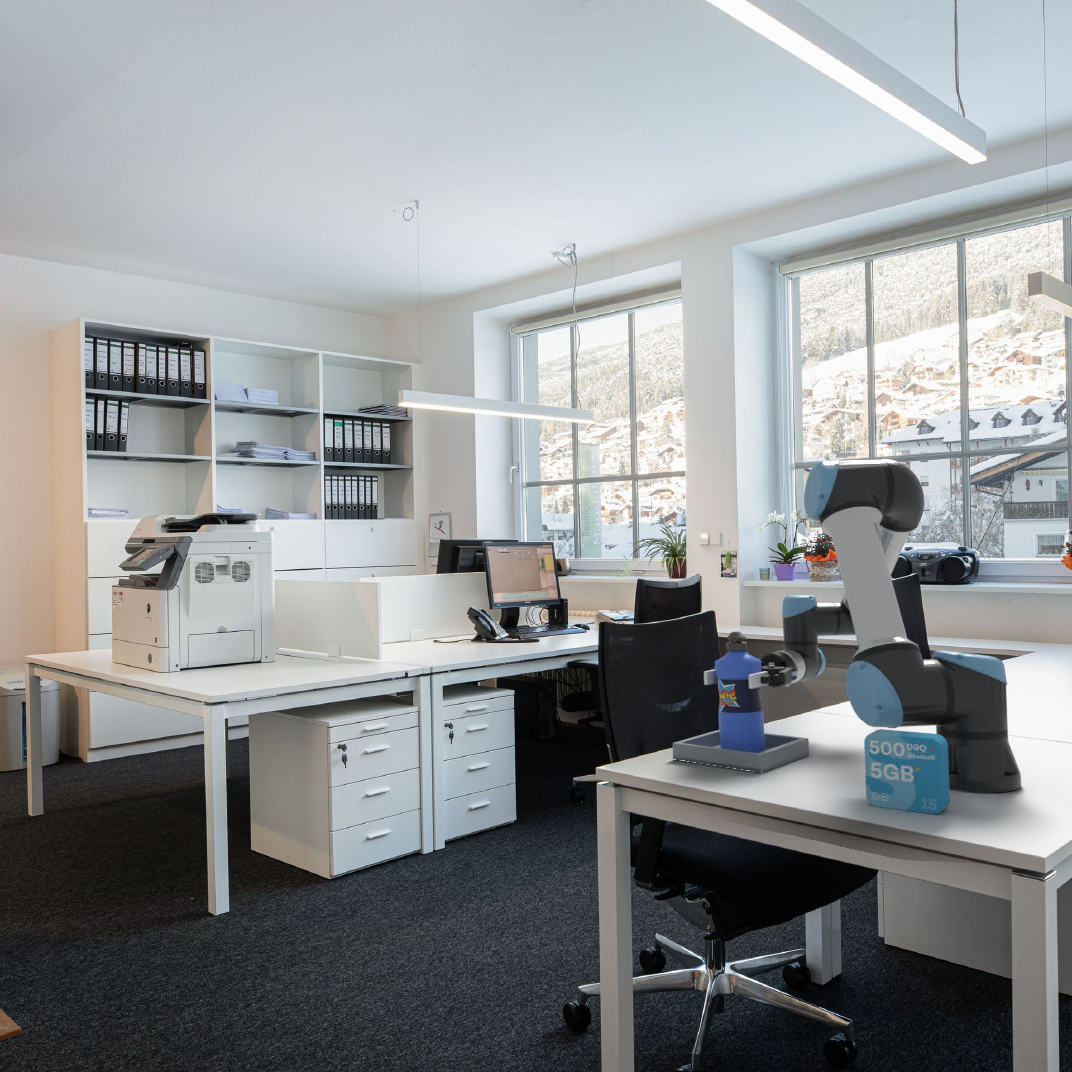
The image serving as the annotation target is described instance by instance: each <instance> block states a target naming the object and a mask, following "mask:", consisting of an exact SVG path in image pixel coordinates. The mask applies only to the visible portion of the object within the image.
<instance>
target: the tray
mask: <svg viewBox="0 0 1072 1072" xmlns="http://www.w3.org/2000/svg"><path fill="white" fill-rule="evenodd" d="M764 736H765V751H763V752H760V753H752V752H745V751H738V750H730V749H723V748H720V732H719V729H718V730H713V731H710V732H706V733H703V734H700V735H696V736H692V737H688V738H686V739H682V740H679V741H674V742H672V760H673V759H676V760H685V761H689V762H696V763H702V764H709V765H716V766H721V767H729V768H736V769H743V770H750V771H754V772H760V773H759V774H762V773H761V772H764V773H765V771H766V772H768V771H767V770H769V771H771V770H770V769H772V770H774V769H777V768H779V766H780V767H782V766H785V765H787V764H789V763H792V762H795V761H797V760H800V759H803V758H806V757H808V756H810V749H809V748H810V746H809V741H810V740H809V738H808V737H799V736H792V735H783V734H775V733H774V734H773V733H767V732H764ZM784 764H785V765H784ZM781 765H782V766H781ZM721 767H720V768H721ZM776 767H777V768H776ZM773 768H774V769H773ZM754 772H753V773H754Z"/></svg>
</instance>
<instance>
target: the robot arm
mask: <svg viewBox="0 0 1072 1072" xmlns="http://www.w3.org/2000/svg"><path fill="white" fill-rule="evenodd" d="M923 489H924V488H923V486H922V483H921V482H920V480H919V478H918V476H917V475H916V474H915V472H914V471H913V470H912V469H910V468H909V467H908V466H907V465H905V464H904V463H902V462H899V461H896V460H893V459H886V458H884V459H865V460H863V459H861V460H858V459H857V460H838V459H834V460H825V461H819V462H816V463H815V465H813V466H812V468H811V469H810V470H809V473H808V475H807V479H806V482H805V488H804V494H803V495H804V498H803V499H804V501H803V503H804V511H805V514H806V516H807V517H808V518H809V519H810V520H813V521H817V520H818V521H819V524H820V528H821V531H822V533H823V534H825V535H827V536H828V537H831V538H832V543H833V547H834V552H835V556H836V560H837V563H838V568H839V572H840V575H841V577H840V578H841V581H842V584H843V588H844V591H845V592H844V595H843V597H842V599H841V602H818V601H817V598H816V596H815V595H813V594H812V595H811V594H810V595H809V594H798V595H797V594H794V595H786V596H785V597H784V598H783V600H782V608H781V609H782V614H781V618H782V632H783V633H782V635H783V636H782V637H783V649H782V650H778V651H774V652H773V651H772V652H768V653H766V654H763V656H762V657H761V658H760V659H759V660H761V672H759V673H755V674H750V675H749V688H750V689H753V688H757V687H760V688H761V687H766V686H768V687H771V688H779V687H783V686H785V687H786V688H788V687H790V685H791V684H795V683H799V682H803V681H811V680H813V679H815V678H817V677H819V676H820V675H822V674H823V672H824V670H825V667H826V665H827V663H826V660H827V659H826V657H825V655H824V653H823V651H822V650H821V649H820V648H819V643H818V642H819V641H818V638H819V637H828V636H830V637H831V636H832V637H833V636H856V637H855V639H856V642H857V646H858V649H857V650H856V652H855V653H854V655H853V656H852V663H851V664H850V665H849V666H848V668H847V670H846V674H845V680H846V685H845V686H846V687H845V688H846V693H847V697H848V700H849V703H850V705H851V708H852V710H853V711H854V713H855V715H856V716H857V717H858V718H859V720H861V721H862V722H863V723H864V724H865V725H867V726H869V727H872V728H888V729H897V728H902V727H903V728H905V727H907V728H908V727H924V726H927V727H929V726H935V727H936V728H935V731H936V733H935V734H939V735H941V736H943V737H944V738H945V739H946V741H947V744H948V768H949V790H954V791H962V792H971V793H1004V792H1005V793H1006V792H1007V793H1008V792H1013V791H1015V790H1016V791H1017V790H1019V789H1020V788H1021V787H1022V775H1021V771H1020V767H1019V766H1018V763H1017V761H1016V758H1015V756H1014V753H1013V750H1012V748H1011V745H1010V742H1009V725H1008V723H1009V722H1008V702H1007V701H1008V699H1007V698H1008V697H1007V686H1008V681H1007V676H1006V667H1005V664H1004V662H1003V661H1002V660H1001V659H999V658H998V657H995V656H990V655H985V654H976V653H971V652H970V653H969V652H962V651H951V650H938V649H936V650H935V651H933V654H932V659H923V656H922V653H921V650H920V647H919V645H918V644H917V643H915V642H914V641H912V640H910V639H908V637H907V632H906V629H905V626H904V625H905V624H904V621H903V618H902V614H901V610H900V606H899V603H898V599H897V596H896V595H897V594H896V591H895V588H894V587H895V586H894V584H893V580H892V577H891V576H892V573H893V571H894V569H895V567H896V564H897V561H898V560H899V557H900V554H901V552H902V550H903V548H904V545H905V543H906V541H907V539H908V536H909V534H910V533H911V532H913V531H915V530H916V529H917V528H918V526H919V524H920V523H921V519H922V517H923V515H924V510H925V494H924V490H923ZM703 682H704V683H703V684H704V685H705V686H709V685H714V684H717V678H716V674H715V666H712V667H711V668H710V670H705V671H703Z"/></svg>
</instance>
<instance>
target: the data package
mask: <svg viewBox="0 0 1072 1072" xmlns="http://www.w3.org/2000/svg"><path fill="white" fill-rule="evenodd" d="M863 745H864V770H865V771H864V772H865V773H864V774H865V796H866V800H867V802H868V803H869V804H870V805H871V806H873V807H877V808H882V807H883V809H889V808H891V810H898V811H905V812H912V813H921V814H928V815H938V814H941V812H943V811H944V810H945V809H946V808H947V806H948V805H950V800H951V799H950V796H951V795H950V789H949V768H948V744H947V741H946V739H945V738H944V737H943V736H941V735H939V734H936V733H930V732H918V731H908V730H907V731H905V730H897V729H896V730H894V729H883V728H879V729H876V730H874V731H872V732H870V733H869V734H867V735H866V736H865V738H864V741H863Z"/></svg>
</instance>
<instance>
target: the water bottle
mask: <svg viewBox="0 0 1072 1072" xmlns="http://www.w3.org/2000/svg"><path fill="white" fill-rule="evenodd" d="M726 639H727V640H728V641H729V642H726V645H725V646H726V651H727V652H726V654H725V655H723V656H722V657H721V658H718V659H717V660H715V661H714V667H715V674H716V678H717V683H716V684H717V688H718V694H719V702H718V703H719V704H718V730H719V732H720V748H723V749H730V750H738V751H745V752H752V753H760V752H763V751H765V736H764V733H765V724H764V710H763V705H762V701H761V687H757V688H753V689H750V688H749V675H750V674H755V673H759V672H761V660H760V659H759V658H756V657H755V656H753V655H750V654H749V653H748V652H747V650H748V642H746V641H744V640H745V639H746V635H744V634H743V633H742V632H741V631H731V632H730V633H729V634H728V636H726Z"/></svg>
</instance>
